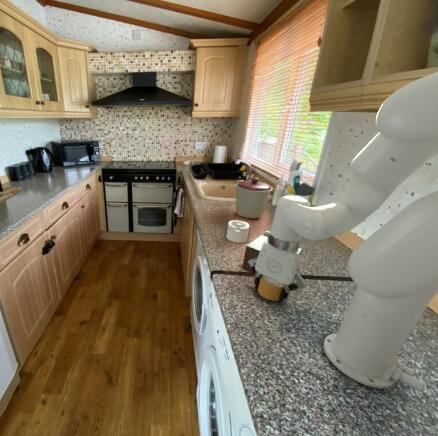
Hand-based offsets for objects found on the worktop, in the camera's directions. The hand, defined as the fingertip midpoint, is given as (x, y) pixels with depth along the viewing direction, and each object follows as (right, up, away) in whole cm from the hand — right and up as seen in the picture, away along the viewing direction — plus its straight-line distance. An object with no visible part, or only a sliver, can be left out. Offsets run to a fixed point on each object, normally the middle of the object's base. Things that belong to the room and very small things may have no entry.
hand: (269, 292), depth 73 cm
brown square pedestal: (+6, +4, +13) cm, 15 cm away
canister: (+19, +24, +60) cm, 68 cm away
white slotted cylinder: (+5, +16, +40) cm, 43 cm away
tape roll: (0, 0, 0) cm, 0 cm away
